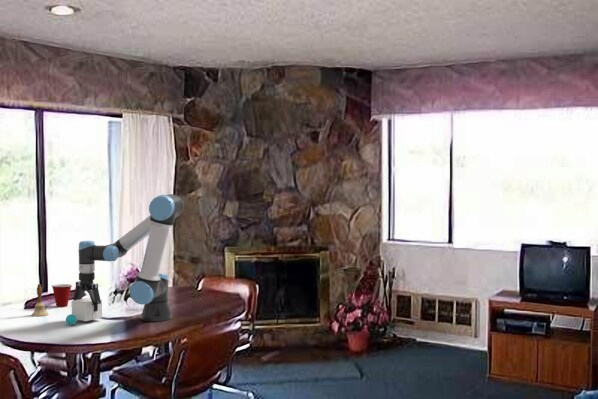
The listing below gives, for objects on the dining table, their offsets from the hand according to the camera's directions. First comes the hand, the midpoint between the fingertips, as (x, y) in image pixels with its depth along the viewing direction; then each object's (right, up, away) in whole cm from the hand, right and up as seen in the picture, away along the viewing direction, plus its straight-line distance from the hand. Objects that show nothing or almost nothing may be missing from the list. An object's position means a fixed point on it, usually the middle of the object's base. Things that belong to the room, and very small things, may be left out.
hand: (87, 316), depth 347 cm
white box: (0, -1, 0) cm, 1 cm away
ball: (-5, 0, -8) cm, 10 cm away
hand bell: (-28, -2, +13) cm, 31 cm away
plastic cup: (-25, 0, +36) cm, 43 cm away
